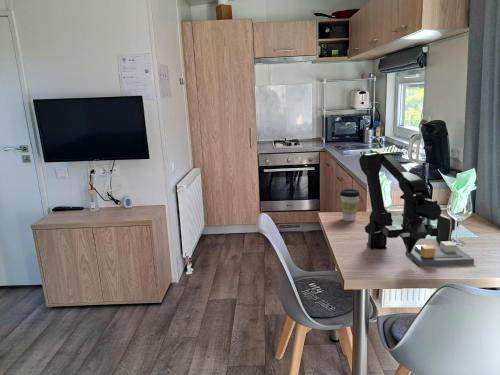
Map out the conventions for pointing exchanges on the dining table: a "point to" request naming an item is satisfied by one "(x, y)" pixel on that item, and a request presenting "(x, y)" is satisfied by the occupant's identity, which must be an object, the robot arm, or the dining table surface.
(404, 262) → the dining table surface
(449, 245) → the cream button
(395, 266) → the dining table surface
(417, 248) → the grey button
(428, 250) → the block slider
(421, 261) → the panel
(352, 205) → the coffee cup
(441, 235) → the battery charger
